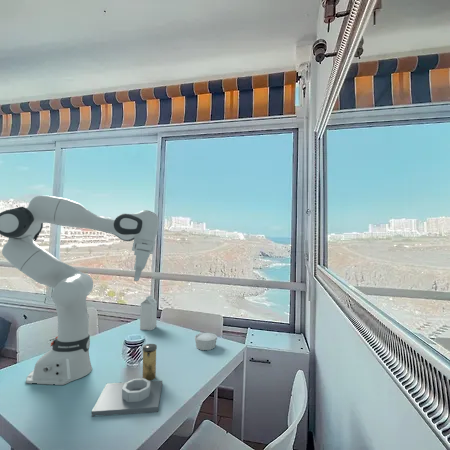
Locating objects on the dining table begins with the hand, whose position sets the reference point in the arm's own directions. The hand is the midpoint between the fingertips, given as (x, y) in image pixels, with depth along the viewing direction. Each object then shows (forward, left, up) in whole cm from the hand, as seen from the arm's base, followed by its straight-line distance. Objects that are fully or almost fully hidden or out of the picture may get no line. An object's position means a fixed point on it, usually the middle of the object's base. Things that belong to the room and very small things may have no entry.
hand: (136, 280), depth 116 cm
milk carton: (-1, +51, -37) cm, 63 cm away
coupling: (+7, -6, -37) cm, 38 cm away
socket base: (+2, -20, -37) cm, 42 cm away
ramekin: (+31, +21, -37) cm, 53 cm away
